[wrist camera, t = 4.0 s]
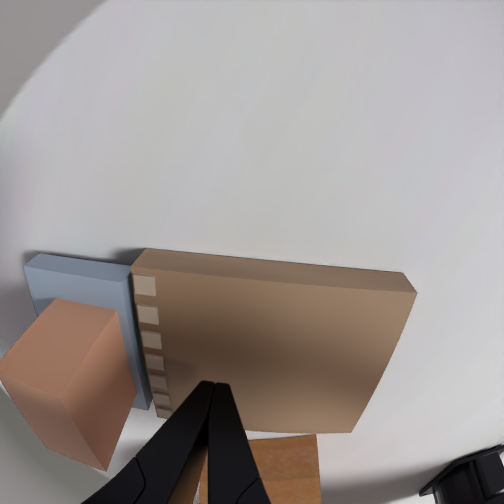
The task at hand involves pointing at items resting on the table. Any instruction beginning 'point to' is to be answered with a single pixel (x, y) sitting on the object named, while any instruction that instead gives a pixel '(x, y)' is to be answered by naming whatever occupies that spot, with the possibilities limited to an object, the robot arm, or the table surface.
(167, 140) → the table surface
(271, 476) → the arch
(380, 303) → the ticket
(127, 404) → the stub
